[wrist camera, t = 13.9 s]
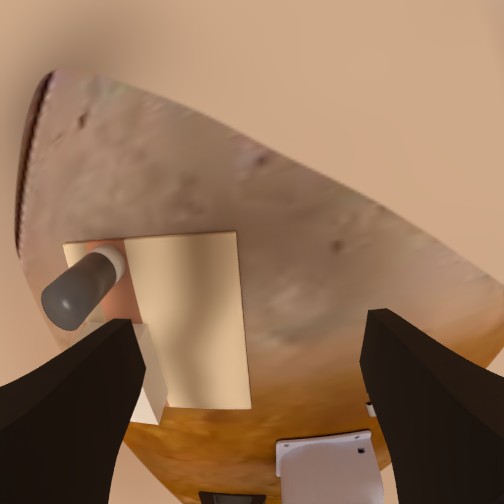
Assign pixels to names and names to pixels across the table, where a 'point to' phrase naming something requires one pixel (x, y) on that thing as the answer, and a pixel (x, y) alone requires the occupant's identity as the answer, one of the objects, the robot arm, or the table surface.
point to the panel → (183, 312)
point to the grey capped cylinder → (83, 286)
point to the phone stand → (230, 498)
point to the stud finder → (153, 383)
